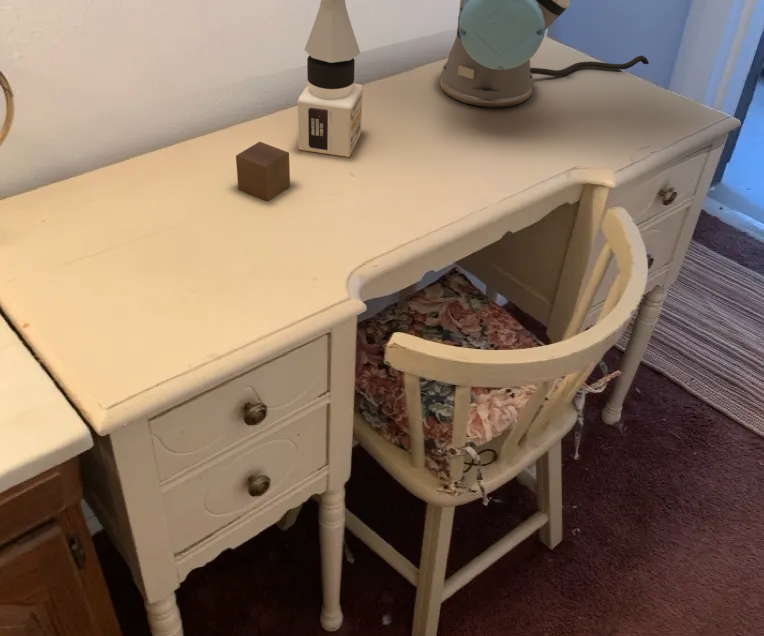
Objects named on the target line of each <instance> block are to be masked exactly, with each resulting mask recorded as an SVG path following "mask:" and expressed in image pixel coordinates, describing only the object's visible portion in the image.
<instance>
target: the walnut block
mask: <svg viewBox="0 0 764 636" xmlns="http://www.w3.org/2000/svg"><path fill="white" fill-rule="evenodd" d="M235 163H236V177H237V189H238V190H239V191H241V192H244V193H246V194H249V195H251V196H254V197H257V198H258V199H261V200H264V201H266V202H268V201H270V200H271V199H273V198H274V197H276V196H277V195H279V194H280V193H282V192H283V191H285V190H287V189H288V188H289V187H291V174H290V173H291V172H290V170H291V167H290V152H289V151H286V150H284V149H280V148H278V147H275V146H273V145H270V144H267V143H265V142H263V141H257V142H256V143H254V144H253V145H251V146H250V147H247V148H246V149H244V150H243V151H240V152H239V153H238V154H236V155H235Z"/></svg>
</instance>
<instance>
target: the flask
mask: <svg viewBox="0 0 764 636" xmlns="http://www.w3.org/2000/svg"><path fill="white" fill-rule="evenodd" d="M304 51H305V52H306V54H308V56H309V55H310V56H311V57H312V58H315V59H318V60H322V61H326V62H330V63H334V62H341V61H348V60H351V59H353V58H354V59H355V58H356V57H357V56H359V55H360V54H361V49H360V47H359V43H358V41H357V37H356V36H355V32H354V30H353V27H352V22H351V19H350V16H349V12H348V10H347V5H346V0H320V3H319V8H318V11H317V14H316V17H315V19H314V23H313V25H312V28H311V31H310V33H309V36H308V39H307V42H306V44H305V47H304Z"/></svg>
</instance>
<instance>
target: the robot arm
mask: <svg viewBox="0 0 764 636" xmlns="http://www.w3.org/2000/svg"><path fill="white" fill-rule="evenodd" d="M459 2H460V3H459V10H458V17H457V27H456V28H457V29H456V36H455V40H454V42H453V44H452V46H451V49H450V52H449V54H448V57H447V60H446V62H445V63H444V65H443V67H442V70H441V74H440V83H439V84H440V88H441V90H442V91H443V92H444V93H445V94H446V95H447V96H449V97H450V98H452V99H454V100H456V101H459V102H461V103H463V104H468V105H472V106H475V107H476V106H477V107H484V108H505V107H512V106H516V105H520V104H521V103H524V102H526V100H528V99H529V98H530V97H531V94H532V92H533V91H532V90H533V85H534V84H533V82H534V81H533V80H534V79H533V75H543V76H550V77H561V76H565V75H568V74H570V73H572V72H573V71H575V70H578V69H582V68H595V69H604V70H612V71H613V70H614V71H616V70H617V71H618V70H619V71H620V70H627V69H630V68H632V67H634V66H635V65H636V64H638V63H639V62H641V64H643V65H649V60H648V58H647V57H645V55H638V56H636V57H633V58H632V59H631V60H629V61H627V62H625V63H610V62H602V61H579V62H575V63H573V64H571V65H569V66H567V67H565V68H563V69H562V68H561V69H549V68H540V67H531V59H532V58H533V57H534V56H535V54H536V53H537V52H538V50H539V48H540V47H541V44H542V42H543V41H544V38H545V33H546V30H547V29H548V28H549V27H551V26H552V24H554V22H555V21H556V20H557V19H558V18H559V17H560V16H561V15H562V14H563V13H564V12H565V11H567V9H568V8H569V7H570V5H571V0H460V1H459Z"/></svg>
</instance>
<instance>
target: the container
mask: <svg viewBox="0 0 764 636" xmlns="http://www.w3.org/2000/svg"><path fill="white" fill-rule="evenodd" d="M306 60H307V61H306V62H307V63H306V66H307V68H306V70H307V71H306V72H307V74H306V75H307V76H306V77H307V78H306V79H307V81H306V82H307V85H306V86H305V88H304V89H303V90H302V93H301V94H300V95H299V96H298V98H297V136H298V139H297V140H298V149H299V151H306V152H312V153H319V154H325V155H332V156H340V157H347V158H349V157H350V156H351V155H352V153H353V151H354V148H355V147H356V145H357V142H358V141H359V139H360V136H361V135H362V116H363V115H362V114H363V113H362V112H363V111H362V110H363V90H364V89H363V88H364V87H363V85H362V84H360V83H359V84H358V83H355V68H356V67H355V65H356V59H355V57H354V58H353V59H351V60H348V61H341V62H334V63H330V62H326V61H322V60H318V59H315V58H312V57H311V56H310V55H309V54H308V56H307V59H306Z"/></svg>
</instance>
